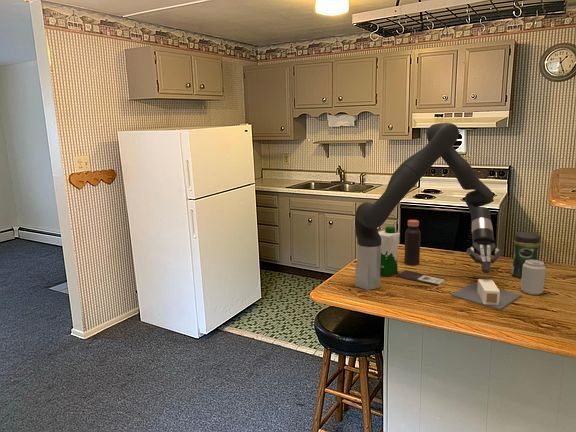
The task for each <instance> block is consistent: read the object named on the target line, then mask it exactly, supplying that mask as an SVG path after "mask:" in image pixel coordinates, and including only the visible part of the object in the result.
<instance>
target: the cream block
mask: <svg viewBox="0 0 576 432" xmlns="http://www.w3.org/2000/svg"><path fill="white" fill-rule="evenodd" d="M495 283H496V282H494V280H493V279H486V278H485V279H484V278H478V279H477V284H478V285H477V293H478V295H479V296H480V298H481V300H482V302H483V304H489V305H499V298H500V291H499V289H500V288H498V286H497V285H496V284H495Z"/></svg>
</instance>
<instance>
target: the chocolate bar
mask: <svg viewBox="0 0 576 432" xmlns="http://www.w3.org/2000/svg"><path fill="white" fill-rule="evenodd" d="M395 277H396V278H399V279H404V280H408V281H413V282H417V283H421V284H424V285H431V286H433V287H434V286H435V287H439V286H440V285H441V284H443V283H444V282H446V281H447V279H446V278H444V277H440V276H435V275H430V274H426V273H420V272H415V271H411V270H403V271H401V272H400V273H398V274H395Z"/></svg>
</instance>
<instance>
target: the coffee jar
mask: <svg viewBox="0 0 576 432" xmlns="http://www.w3.org/2000/svg"><path fill="white" fill-rule="evenodd" d="M540 237H541V236H540V234H539V233H538V232H537V233H536V232H528V231H516V233H515V235H514V239H513V245H514V255H513V259H512V266H511V275H512V276H514V277H517V278H521V279H522V268H523V264H524V263H525V261H526V260H538V252H539V251H538V250H539V247H540V246H541V238H540Z"/></svg>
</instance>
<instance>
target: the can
mask: <svg viewBox="0 0 576 432" xmlns="http://www.w3.org/2000/svg"><path fill="white" fill-rule="evenodd" d="M545 277H546V266H545V262H544V261H542V260H539V259H537V260H526V261H525V263H524V264H523V268H522V278H521V282H520V291H522V292H523V293H524V294H527V295H530V296H538V295H541V294H543V293H544V288H545V287H544V286H545V280H546V279H545Z"/></svg>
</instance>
